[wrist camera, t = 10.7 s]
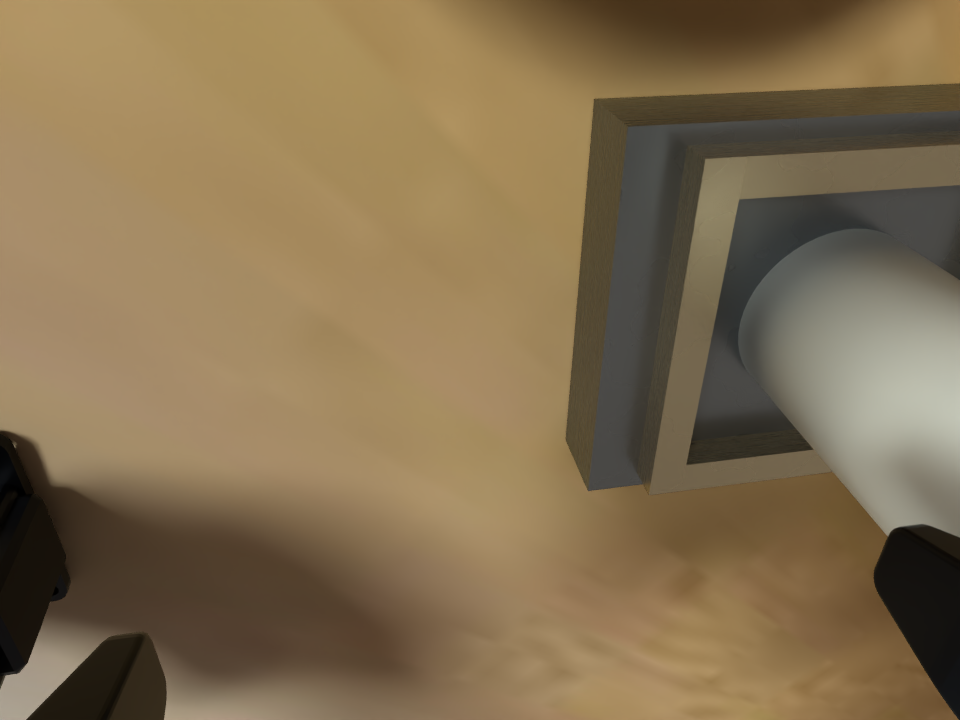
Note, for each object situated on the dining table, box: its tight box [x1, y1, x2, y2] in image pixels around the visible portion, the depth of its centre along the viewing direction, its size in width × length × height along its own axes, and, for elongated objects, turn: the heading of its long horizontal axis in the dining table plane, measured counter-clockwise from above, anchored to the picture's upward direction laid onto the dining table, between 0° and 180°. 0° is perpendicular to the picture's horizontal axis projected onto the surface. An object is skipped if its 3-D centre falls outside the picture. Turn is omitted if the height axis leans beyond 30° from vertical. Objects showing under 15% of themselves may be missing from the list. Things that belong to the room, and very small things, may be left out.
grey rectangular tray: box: [566, 84, 960, 495], centre depth 22 cm, size 13×11×4 cm
